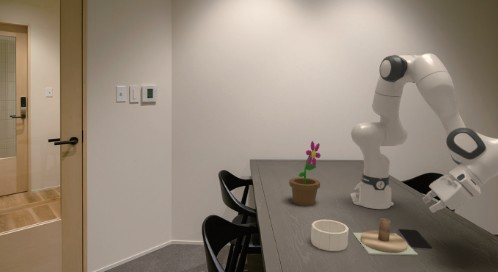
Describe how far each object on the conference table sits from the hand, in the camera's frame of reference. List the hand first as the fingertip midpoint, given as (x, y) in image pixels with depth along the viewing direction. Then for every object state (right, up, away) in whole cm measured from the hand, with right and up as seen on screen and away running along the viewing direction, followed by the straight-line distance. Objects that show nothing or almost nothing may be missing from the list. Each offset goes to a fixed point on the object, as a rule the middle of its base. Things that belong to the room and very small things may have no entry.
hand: (427, 205), depth 111 cm
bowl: (-31, -14, +5) cm, 35 cm away
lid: (-12, -14, +5) cm, 19 cm away
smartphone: (+1, -15, +10) cm, 18 cm away
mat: (-12, -14, +5) cm, 20 cm away
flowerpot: (-33, -9, +48) cm, 59 cm away
